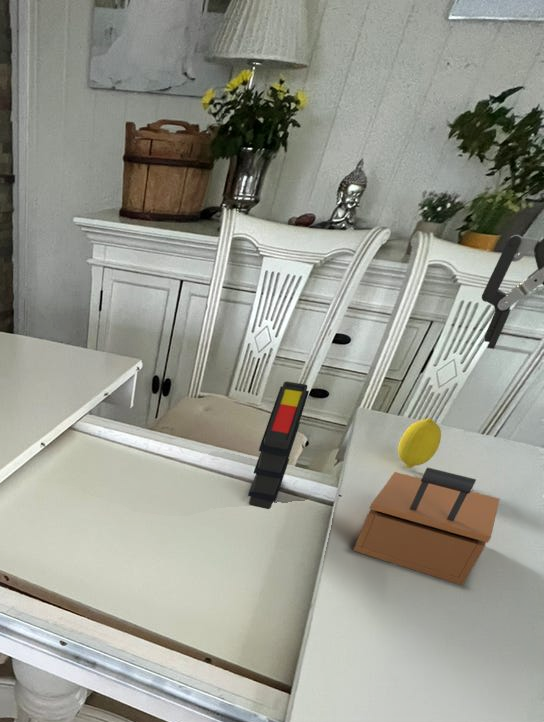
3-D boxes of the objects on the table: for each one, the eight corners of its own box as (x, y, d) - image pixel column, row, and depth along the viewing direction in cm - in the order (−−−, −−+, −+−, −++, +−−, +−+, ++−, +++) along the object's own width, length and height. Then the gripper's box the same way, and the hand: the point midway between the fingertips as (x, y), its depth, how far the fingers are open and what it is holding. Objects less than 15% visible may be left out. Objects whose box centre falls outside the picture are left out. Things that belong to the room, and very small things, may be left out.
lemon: (384, 466, 96) (404, 416, 91) (399, 458, 99) (419, 410, 94) (418, 477, 93) (441, 427, 88) (432, 469, 96) (455, 419, 91)
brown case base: (462, 585, 69) (484, 546, 66) (352, 550, 74) (368, 512, 71) (476, 540, 78) (496, 504, 74) (377, 512, 83) (392, 476, 80)
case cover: (487, 542, 64) (514, 494, 61) (369, 508, 70) (388, 463, 66) (497, 503, 74) (520, 460, 71) (392, 476, 80) (409, 435, 76)
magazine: (288, 464, 91) (311, 383, 78) (267, 530, 86) (288, 455, 73) (263, 459, 92) (282, 379, 79) (241, 524, 87) (257, 450, 74)
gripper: (718, 166, 54) (611, 356, 64) (537, 163, 60) (466, 337, 70) (733, 165, 49) (615, 371, 59) (535, 162, 55) (458, 349, 65)
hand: (534, 352), depth 65 cm, fingers open, 8 cm apart
